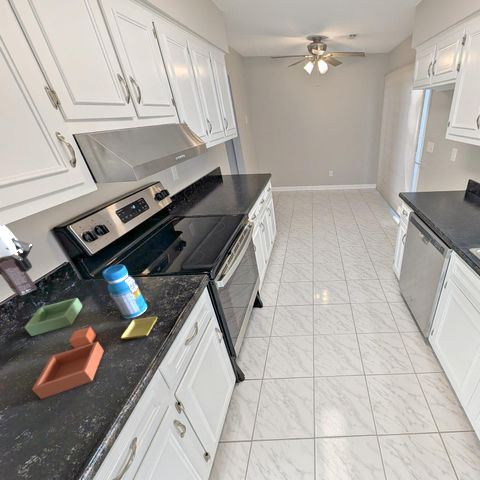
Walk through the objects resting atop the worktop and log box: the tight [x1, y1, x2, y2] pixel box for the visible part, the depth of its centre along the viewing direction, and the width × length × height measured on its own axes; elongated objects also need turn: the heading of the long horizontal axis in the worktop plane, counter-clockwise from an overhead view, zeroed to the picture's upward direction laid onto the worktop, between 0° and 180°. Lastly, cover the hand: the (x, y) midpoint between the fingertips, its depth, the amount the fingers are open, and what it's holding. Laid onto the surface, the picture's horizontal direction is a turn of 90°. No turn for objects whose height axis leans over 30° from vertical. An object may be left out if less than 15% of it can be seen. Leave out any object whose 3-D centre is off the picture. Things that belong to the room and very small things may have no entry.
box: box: [0, 256, 38, 297], centre depth 82 cm, size 6×4×12 cm
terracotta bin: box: [31, 341, 105, 400], centre depth 75 cm, size 12×12×5 cm
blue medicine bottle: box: [102, 263, 148, 319], centre depth 94 cm, size 8×8×20 cm
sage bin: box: [24, 297, 83, 337], centre depth 96 cm, size 12×12×5 cm
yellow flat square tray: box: [120, 316, 158, 340], centre depth 89 cm, size 9×9×2 cm
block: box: [68, 326, 97, 349], centre depth 85 cm, size 4×4×4 cm
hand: (13, 272), depth 81 cm, fingers closed on box, 6 cm apart
